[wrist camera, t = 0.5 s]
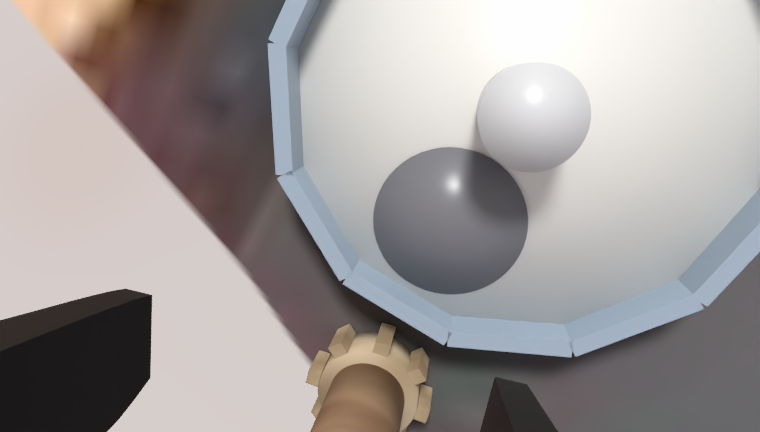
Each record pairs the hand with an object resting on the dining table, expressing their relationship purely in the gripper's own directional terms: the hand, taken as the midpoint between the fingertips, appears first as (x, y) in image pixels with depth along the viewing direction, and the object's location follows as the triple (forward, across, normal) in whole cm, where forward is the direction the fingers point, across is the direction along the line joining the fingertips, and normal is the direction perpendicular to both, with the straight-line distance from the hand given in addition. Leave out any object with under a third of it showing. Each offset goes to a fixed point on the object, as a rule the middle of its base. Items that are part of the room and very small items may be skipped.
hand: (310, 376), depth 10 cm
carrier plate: (+10, -4, -5) cm, 12 cm away
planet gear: (+10, 0, +6) cm, 12 cm away
